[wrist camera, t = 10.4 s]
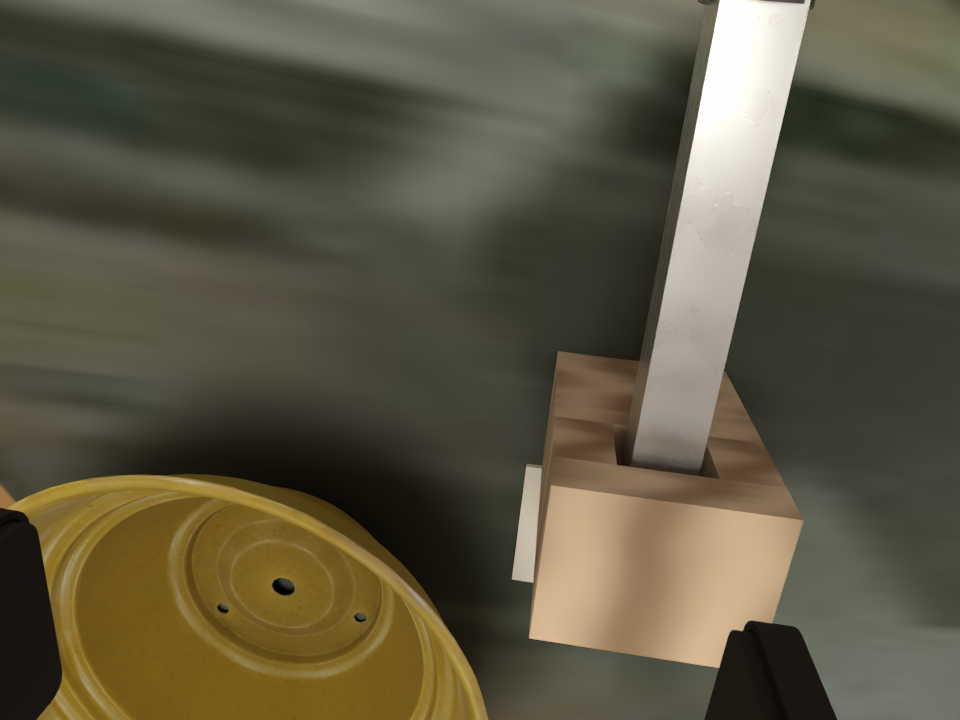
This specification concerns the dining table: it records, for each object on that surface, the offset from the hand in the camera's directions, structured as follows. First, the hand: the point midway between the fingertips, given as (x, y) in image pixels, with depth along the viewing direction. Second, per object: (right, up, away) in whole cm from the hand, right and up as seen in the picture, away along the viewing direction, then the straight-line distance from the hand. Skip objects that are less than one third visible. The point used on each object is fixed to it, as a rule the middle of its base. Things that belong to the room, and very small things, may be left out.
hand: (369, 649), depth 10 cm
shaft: (+11, +7, +22) cm, 26 cm away
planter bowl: (-12, -12, +43) cm, 46 cm away
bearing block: (+11, 0, +35) cm, 36 cm away
